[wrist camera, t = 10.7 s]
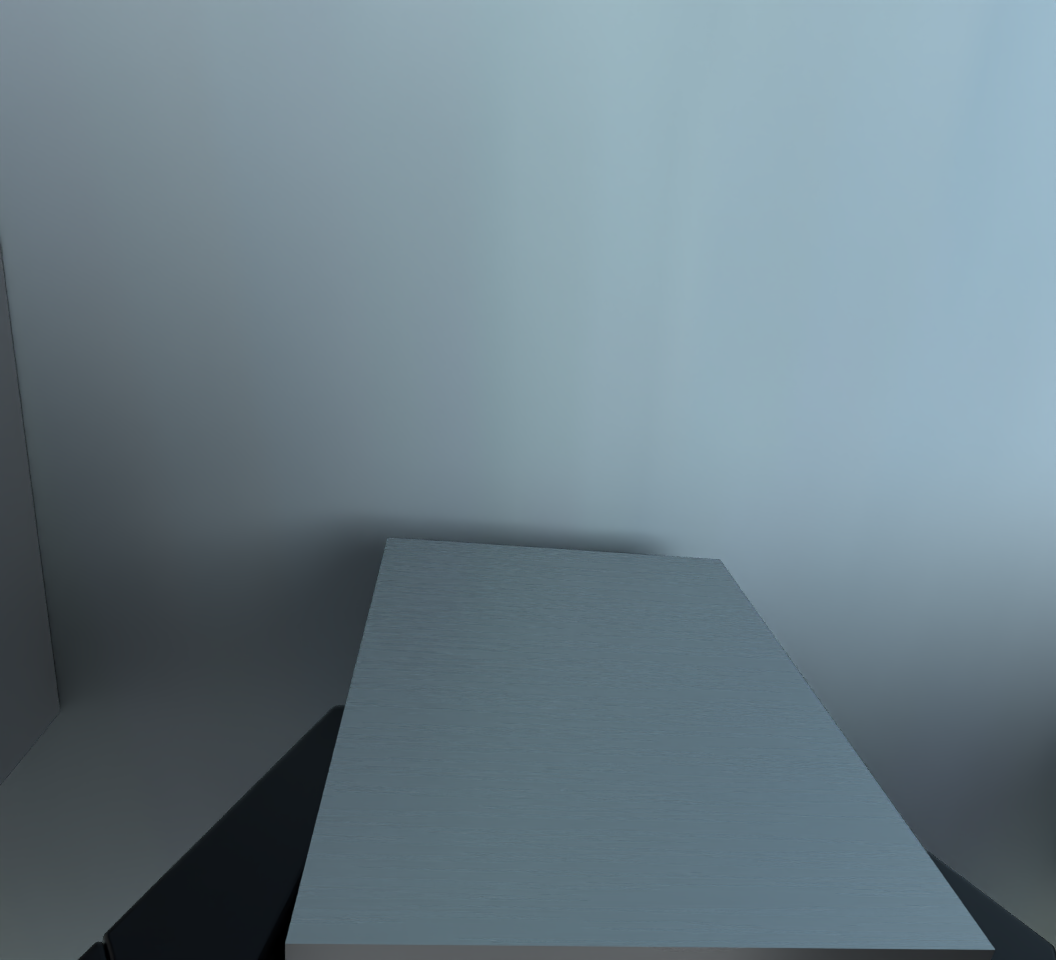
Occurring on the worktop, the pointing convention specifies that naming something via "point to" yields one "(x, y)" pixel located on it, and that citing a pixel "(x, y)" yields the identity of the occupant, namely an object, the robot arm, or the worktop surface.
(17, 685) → the scale
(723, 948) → the block
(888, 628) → the worktop surface
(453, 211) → the worktop surface
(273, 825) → the robot arm
